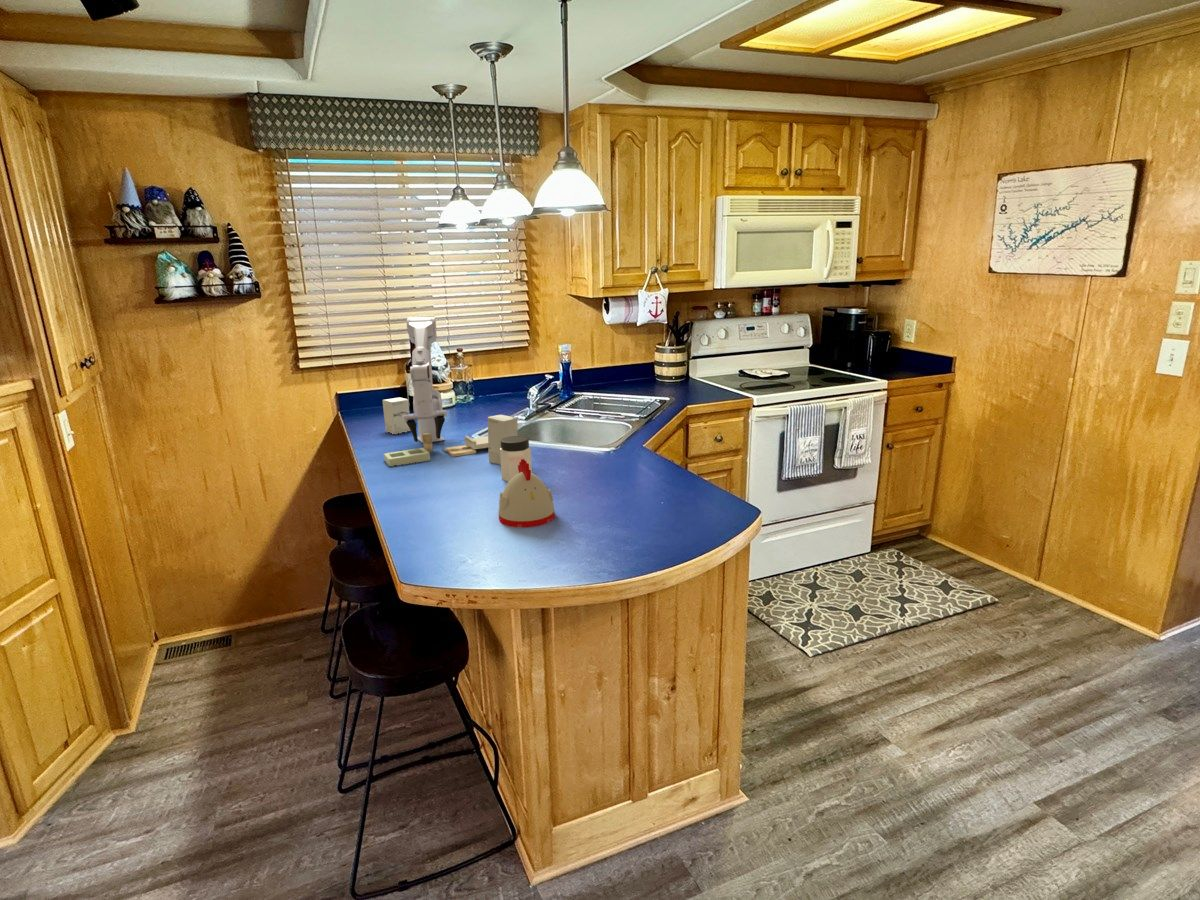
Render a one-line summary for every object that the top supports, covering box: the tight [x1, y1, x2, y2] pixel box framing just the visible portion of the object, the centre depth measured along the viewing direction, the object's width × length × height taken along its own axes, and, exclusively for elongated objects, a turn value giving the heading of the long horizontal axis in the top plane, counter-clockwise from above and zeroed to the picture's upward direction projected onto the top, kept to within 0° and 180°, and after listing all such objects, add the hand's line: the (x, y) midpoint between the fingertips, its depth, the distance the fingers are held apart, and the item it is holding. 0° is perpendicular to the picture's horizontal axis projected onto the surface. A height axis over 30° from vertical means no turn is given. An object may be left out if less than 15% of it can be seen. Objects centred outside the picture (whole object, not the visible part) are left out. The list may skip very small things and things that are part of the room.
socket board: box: [383, 447, 431, 467], centre depth 227 cm, size 8×13×2 cm, turn 119°
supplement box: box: [382, 396, 411, 435], centre depth 264 cm, size 7×7×13 cm
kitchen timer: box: [498, 459, 555, 529], centre depth 172 cm, size 14×14×15 cm
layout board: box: [444, 444, 477, 458], centre depth 235 cm, size 9×8×1 cm
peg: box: [422, 433, 434, 453], centre depth 237 cm, size 3×3×6 cm
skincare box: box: [487, 414, 519, 466], centre depth 220 cm, size 8×6×15 cm
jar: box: [500, 435, 533, 483], centre depth 204 cm, size 9×8×12 cm
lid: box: [464, 435, 488, 450], centre depth 238 cm, size 9×8×3 cm
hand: (427, 439), depth 236 cm, fingers open, 7 cm apart
